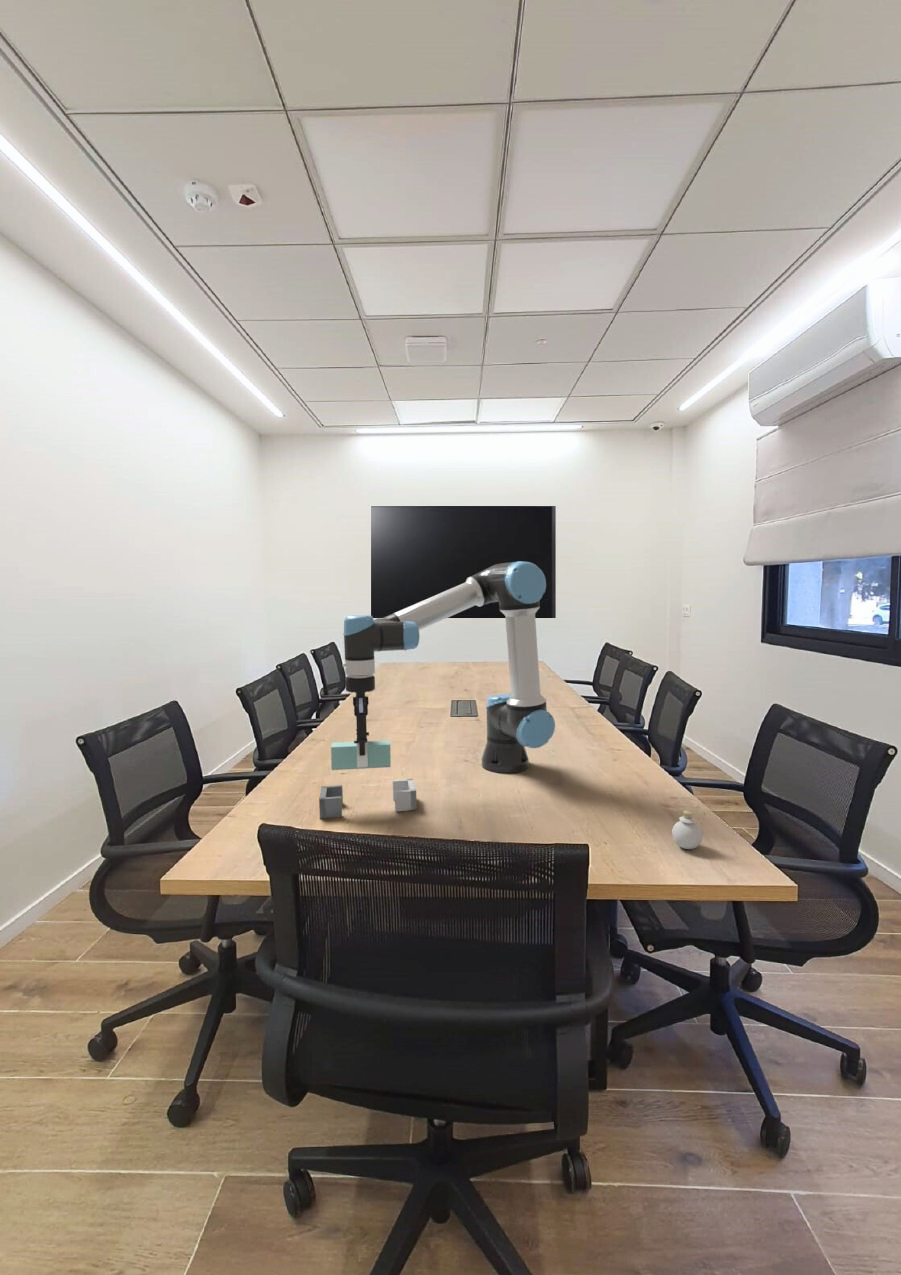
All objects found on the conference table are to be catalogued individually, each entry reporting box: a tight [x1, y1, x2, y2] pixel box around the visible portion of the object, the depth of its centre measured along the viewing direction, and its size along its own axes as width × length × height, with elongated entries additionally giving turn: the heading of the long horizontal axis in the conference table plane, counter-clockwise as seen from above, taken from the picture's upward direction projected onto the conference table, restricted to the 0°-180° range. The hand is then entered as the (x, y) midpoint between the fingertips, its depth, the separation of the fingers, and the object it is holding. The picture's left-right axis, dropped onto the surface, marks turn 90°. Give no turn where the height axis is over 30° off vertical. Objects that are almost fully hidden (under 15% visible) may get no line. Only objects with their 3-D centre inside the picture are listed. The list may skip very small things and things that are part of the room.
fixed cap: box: [318, 784, 344, 819], centre depth 141 cm, size 6×9×5 cm, turn 10°
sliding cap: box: [392, 778, 418, 812], centre depth 144 cm, size 6×9×5 cm, turn 10°
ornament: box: [671, 804, 709, 850], centre depth 119 cm, size 6×7×10 cm
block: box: [330, 739, 391, 771], centre depth 141 cm, size 15×4×6 cm, turn 100°
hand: (362, 763), depth 141 cm, fingers closed on block, 4 cm apart
